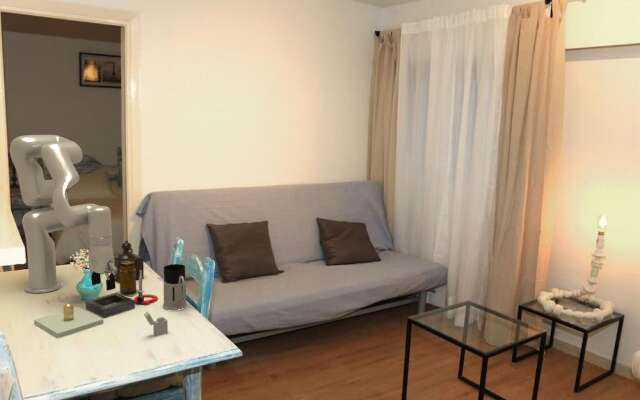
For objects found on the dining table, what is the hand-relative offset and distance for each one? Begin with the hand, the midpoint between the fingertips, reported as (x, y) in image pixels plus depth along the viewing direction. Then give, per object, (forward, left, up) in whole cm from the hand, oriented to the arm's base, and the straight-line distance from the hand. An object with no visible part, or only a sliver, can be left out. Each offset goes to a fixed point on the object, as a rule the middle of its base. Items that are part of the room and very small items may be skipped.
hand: (103, 286), depth 184 cm
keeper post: (+6, -16, -6) cm, 18 cm away
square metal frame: (+4, 0, -7) cm, 8 cm away
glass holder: (+22, +16, -7) cm, 28 cm away
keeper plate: (+6, -16, -7) cm, 19 cm away
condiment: (-6, +14, -7) cm, 17 cm away
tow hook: (+6, +13, -8) cm, 16 cm away
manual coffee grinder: (-19, +22, -7) cm, 30 cm away
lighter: (+34, -2, -7) cm, 35 cm away
